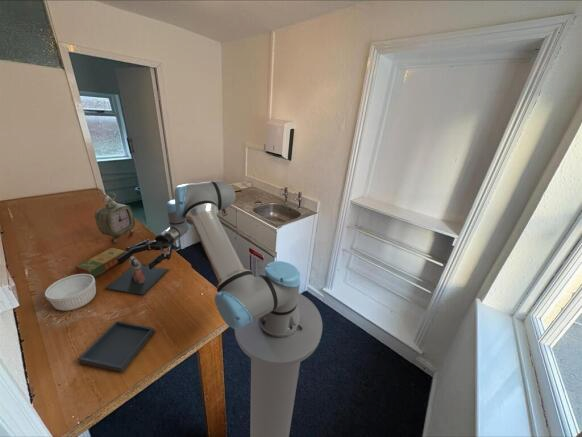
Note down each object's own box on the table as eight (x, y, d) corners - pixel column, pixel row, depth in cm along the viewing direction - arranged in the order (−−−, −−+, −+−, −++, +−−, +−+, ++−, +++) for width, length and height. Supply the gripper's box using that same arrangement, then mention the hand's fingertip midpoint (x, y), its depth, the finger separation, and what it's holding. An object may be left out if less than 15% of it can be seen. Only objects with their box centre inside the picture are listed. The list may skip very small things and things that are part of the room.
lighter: (131, 275, 99) (125, 255, 94) (140, 271, 101) (135, 252, 97) (137, 284, 94) (132, 264, 90) (146, 281, 96) (141, 261, 92)
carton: (127, 258, 109) (125, 250, 108) (92, 279, 95) (89, 271, 94) (113, 254, 111) (111, 246, 110) (77, 274, 97) (73, 265, 95)
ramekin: (78, 284, 92) (73, 270, 89) (108, 290, 91) (103, 276, 88) (41, 310, 80) (33, 295, 77) (74, 317, 79) (67, 302, 76)
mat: (168, 270, 104) (168, 269, 104) (142, 295, 90) (142, 294, 90) (135, 264, 106) (135, 264, 105) (105, 288, 91) (105, 288, 91)
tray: (154, 332, 76) (153, 327, 75) (122, 372, 64) (120, 368, 64) (117, 324, 78) (116, 320, 77) (80, 363, 66) (77, 358, 65)
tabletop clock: (115, 245, 118) (101, 199, 107) (100, 242, 119) (85, 196, 109) (137, 232, 131) (127, 190, 120) (123, 229, 132) (112, 187, 122)
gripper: (191, 248, 113) (164, 276, 94) (144, 241, 116) (108, 266, 97) (190, 235, 110) (161, 261, 91) (141, 228, 112) (103, 251, 93)
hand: (134, 264), depth 94 cm, fingers open, 13 cm apart
